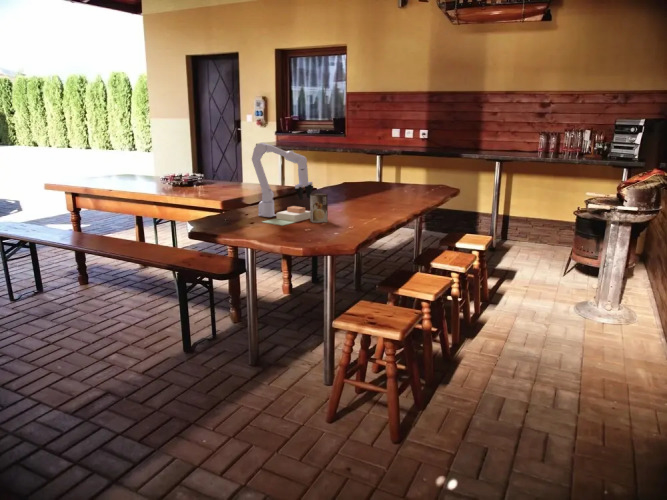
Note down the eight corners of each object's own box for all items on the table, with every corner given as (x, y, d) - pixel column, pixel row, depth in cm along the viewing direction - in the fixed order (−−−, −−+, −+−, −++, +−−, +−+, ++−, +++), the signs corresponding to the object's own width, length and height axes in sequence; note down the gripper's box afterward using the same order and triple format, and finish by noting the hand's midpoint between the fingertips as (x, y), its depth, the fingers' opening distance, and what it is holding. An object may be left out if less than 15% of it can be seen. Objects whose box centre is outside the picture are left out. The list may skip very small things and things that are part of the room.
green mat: (261, 222, 303) (261, 221, 303) (275, 219, 313) (275, 218, 313) (282, 225, 294) (282, 225, 294) (296, 222, 304) (296, 221, 304)
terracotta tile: (287, 211, 315) (287, 207, 315) (293, 210, 320) (293, 206, 320) (298, 213, 310) (298, 209, 310) (305, 211, 315) (305, 207, 315)
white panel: (276, 219, 312) (276, 212, 311) (293, 215, 325) (293, 209, 324) (294, 222, 304) (294, 215, 303) (311, 218, 317) (311, 211, 316)
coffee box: (325, 220, 311) (325, 193, 307) (327, 222, 305) (328, 194, 301) (310, 220, 309) (309, 193, 305) (312, 223, 303) (312, 195, 299)
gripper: (300, 177, 308) (302, 200, 312) (315, 174, 320) (317, 196, 323) (291, 177, 312) (293, 200, 316) (306, 174, 324) (308, 196, 327)
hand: (305, 198), depth 320 cm, fingers open, 7 cm apart
